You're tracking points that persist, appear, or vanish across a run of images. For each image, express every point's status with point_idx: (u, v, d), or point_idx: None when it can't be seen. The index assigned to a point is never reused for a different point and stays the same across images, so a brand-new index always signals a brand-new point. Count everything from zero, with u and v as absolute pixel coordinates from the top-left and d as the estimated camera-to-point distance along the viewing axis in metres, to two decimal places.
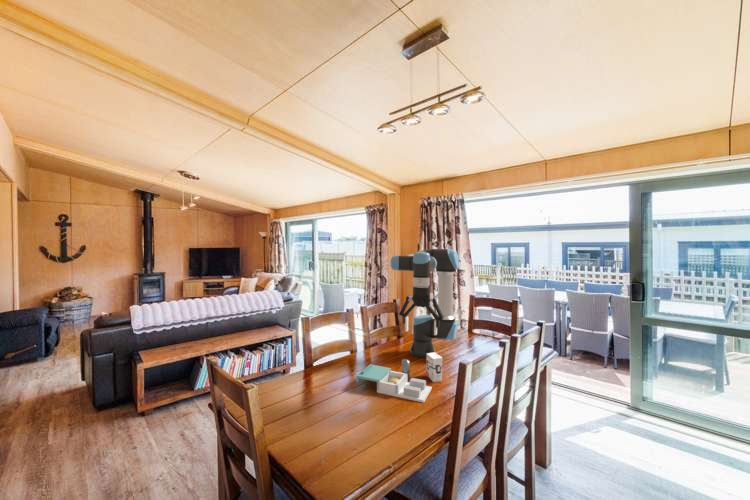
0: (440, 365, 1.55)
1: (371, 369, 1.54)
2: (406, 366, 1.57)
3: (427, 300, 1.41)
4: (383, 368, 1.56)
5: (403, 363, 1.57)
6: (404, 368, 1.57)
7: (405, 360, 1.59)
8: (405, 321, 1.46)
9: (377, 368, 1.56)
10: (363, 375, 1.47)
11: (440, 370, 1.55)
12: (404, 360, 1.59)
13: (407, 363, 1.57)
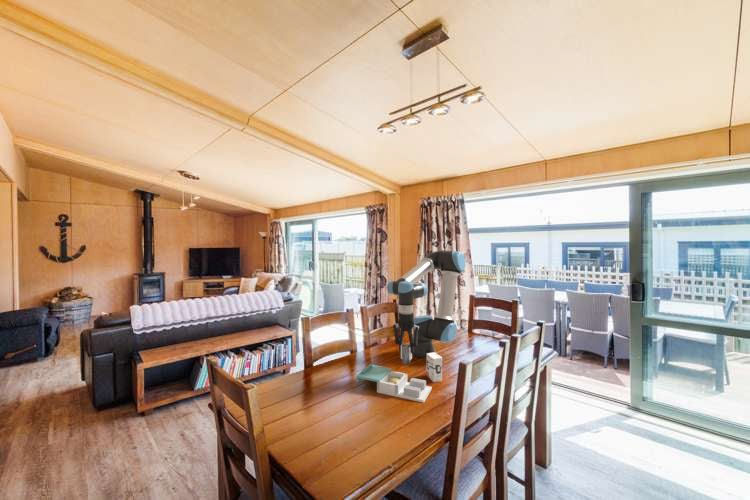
0: (440, 365, 1.55)
1: (371, 369, 1.54)
2: (407, 350, 1.57)
3: (411, 325, 1.56)
4: (383, 368, 1.56)
5: (404, 347, 1.57)
6: (405, 353, 1.57)
7: (406, 344, 1.59)
8: (401, 349, 1.59)
9: (377, 368, 1.56)
10: (363, 375, 1.47)
11: (440, 370, 1.55)
12: (405, 345, 1.59)
13: (408, 347, 1.57)
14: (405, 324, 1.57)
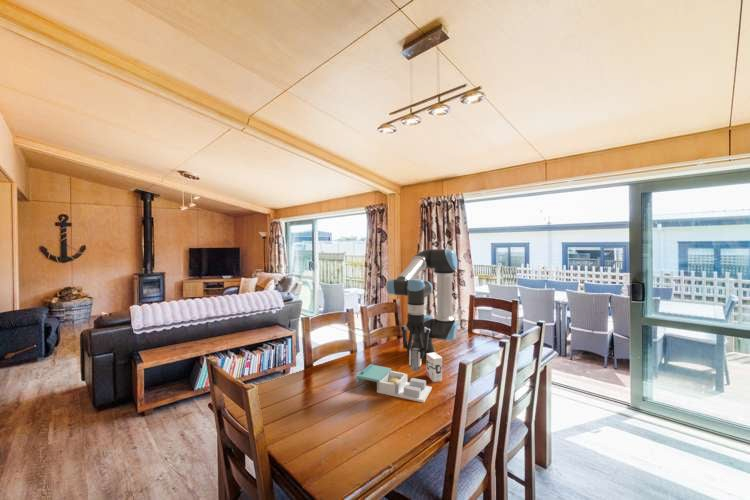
0: (440, 365, 1.55)
1: (371, 369, 1.54)
2: (416, 355, 1.41)
3: (421, 327, 1.40)
4: (383, 368, 1.56)
5: (413, 352, 1.41)
6: (414, 358, 1.41)
7: (415, 349, 1.43)
8: (409, 354, 1.42)
9: (377, 368, 1.56)
10: (363, 375, 1.47)
11: (440, 370, 1.55)
12: (414, 349, 1.43)
13: (417, 352, 1.41)
14: (415, 326, 1.42)
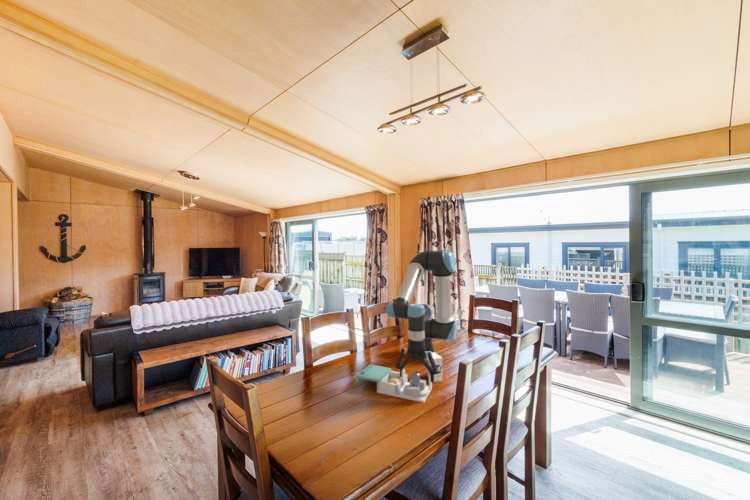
0: (440, 365, 1.55)
1: (371, 369, 1.54)
2: (416, 379, 1.41)
3: (422, 353, 1.40)
4: (383, 368, 1.56)
5: (413, 376, 1.42)
6: (414, 382, 1.41)
7: (415, 373, 1.43)
8: (402, 374, 1.44)
9: (377, 368, 1.56)
10: (363, 375, 1.47)
11: (440, 370, 1.55)
12: (414, 373, 1.43)
13: (417, 376, 1.41)
14: (415, 352, 1.42)
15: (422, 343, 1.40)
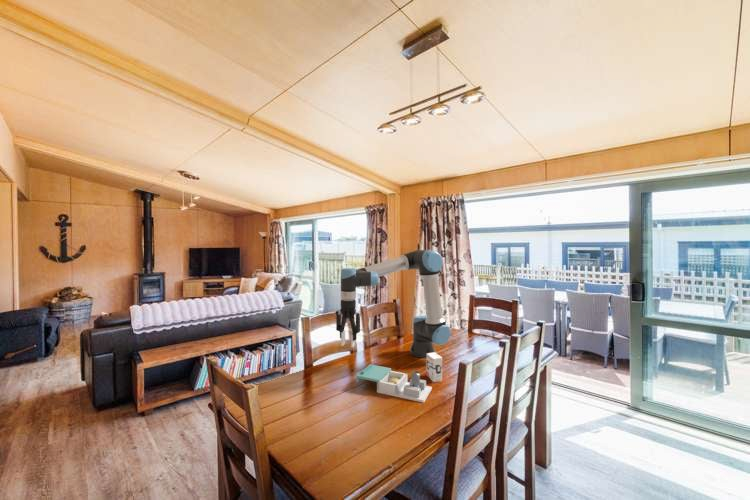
0: (440, 365, 1.55)
1: (371, 369, 1.54)
2: (416, 379, 1.41)
3: (352, 312, 1.55)
4: (383, 368, 1.56)
5: (413, 376, 1.42)
6: (414, 382, 1.41)
7: (415, 373, 1.43)
8: (341, 336, 1.57)
9: (377, 368, 1.56)
10: (363, 375, 1.47)
11: (440, 370, 1.55)
12: (414, 373, 1.43)
13: (417, 376, 1.41)
14: (347, 311, 1.56)
15: (352, 302, 1.54)
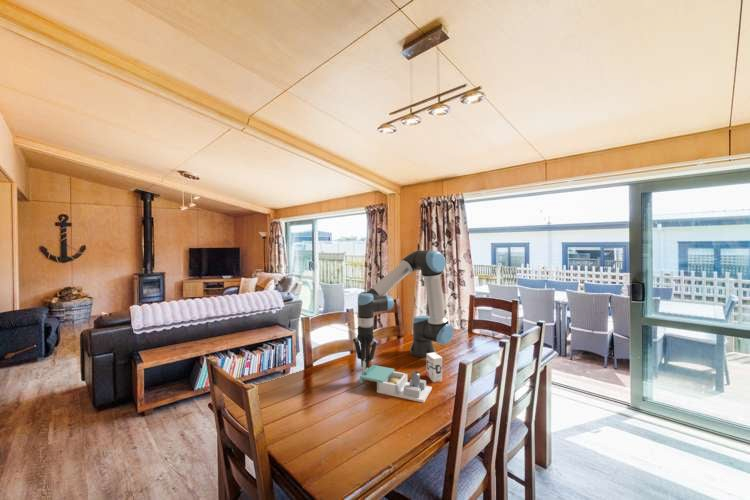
0: (440, 365, 1.55)
1: (374, 370, 1.54)
2: (416, 379, 1.41)
3: (370, 339, 1.51)
4: (386, 369, 1.55)
5: (413, 376, 1.42)
6: (414, 382, 1.41)
7: (415, 373, 1.43)
8: (363, 364, 1.53)
9: (380, 369, 1.55)
10: (366, 376, 1.47)
11: (440, 370, 1.55)
12: (414, 373, 1.43)
13: (417, 376, 1.41)
14: (364, 337, 1.52)
15: (370, 329, 1.50)
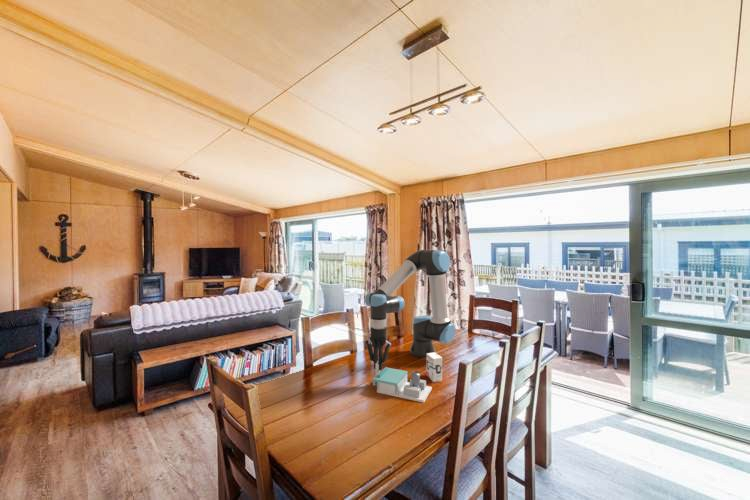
0: (440, 365, 1.55)
1: (387, 372, 1.51)
2: (416, 379, 1.41)
3: (383, 341, 1.48)
4: (399, 371, 1.52)
5: (413, 376, 1.42)
6: (414, 382, 1.41)
7: (415, 373, 1.43)
8: (375, 367, 1.50)
9: (393, 371, 1.52)
10: (380, 378, 1.44)
11: (440, 370, 1.55)
12: (414, 373, 1.43)
13: (417, 376, 1.41)
14: (377, 339, 1.49)
15: (383, 331, 1.47)
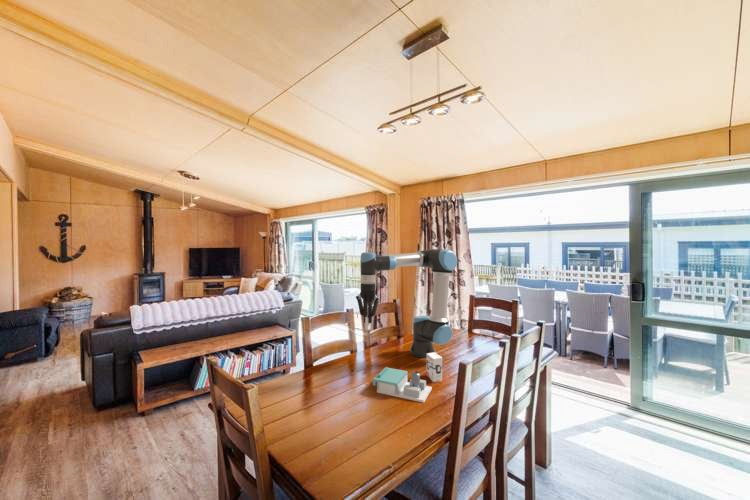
0: (440, 365, 1.55)
1: (387, 372, 1.51)
2: (416, 379, 1.41)
3: (372, 295, 1.57)
4: (399, 371, 1.52)
5: (413, 376, 1.42)
6: (414, 382, 1.41)
7: (415, 373, 1.43)
8: (365, 320, 1.58)
9: (393, 371, 1.52)
10: (380, 378, 1.44)
11: (440, 370, 1.55)
12: (414, 373, 1.43)
13: (417, 376, 1.41)
14: (367, 294, 1.58)
15: (372, 286, 1.56)
